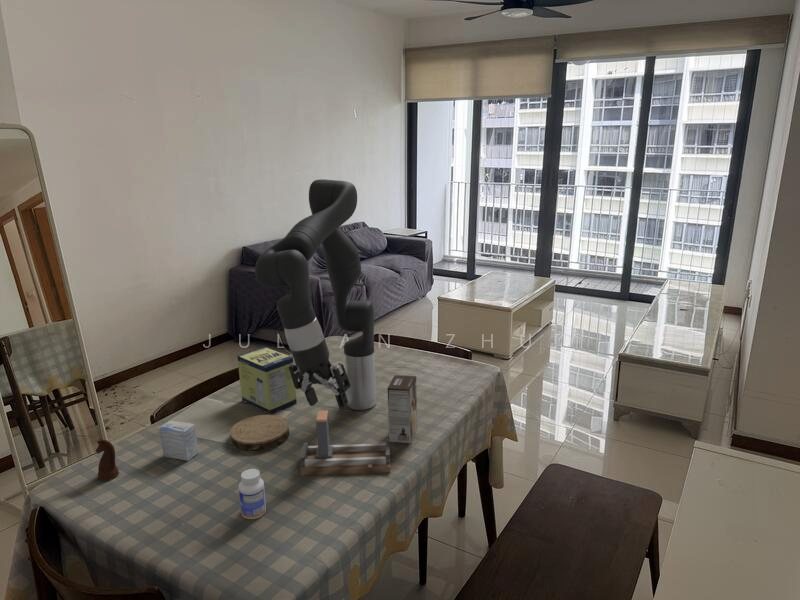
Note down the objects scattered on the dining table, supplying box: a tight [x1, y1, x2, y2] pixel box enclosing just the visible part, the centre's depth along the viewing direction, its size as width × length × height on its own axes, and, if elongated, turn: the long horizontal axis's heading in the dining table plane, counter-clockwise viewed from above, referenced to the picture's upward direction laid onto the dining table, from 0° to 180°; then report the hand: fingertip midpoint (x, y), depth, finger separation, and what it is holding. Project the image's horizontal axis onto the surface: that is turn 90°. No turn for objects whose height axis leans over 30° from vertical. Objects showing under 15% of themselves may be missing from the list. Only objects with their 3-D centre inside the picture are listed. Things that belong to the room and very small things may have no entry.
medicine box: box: [159, 420, 199, 462], centre depth 145 cm, size 8×4×9 cm, turn 71°
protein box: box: [236, 346, 298, 414], centre depth 174 cm, size 10×16×16 cm
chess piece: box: [95, 438, 120, 482], centre depth 136 cm, size 5×5×10 cm
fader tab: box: [315, 410, 333, 459], centre depth 139 cm, size 4×5×12 cm
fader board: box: [299, 439, 391, 476], centre depth 141 cm, size 22×10×4 cm, turn 92°
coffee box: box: [387, 374, 418, 444], centre depth 152 cm, size 9×6×16 cm
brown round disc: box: [229, 414, 290, 453], centre depth 155 cm, size 16×16×3 cm
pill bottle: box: [238, 468, 267, 520], centre depth 121 cm, size 5×5×10 cm
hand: (328, 405), depth 123 cm, fingers open, 8 cm apart
